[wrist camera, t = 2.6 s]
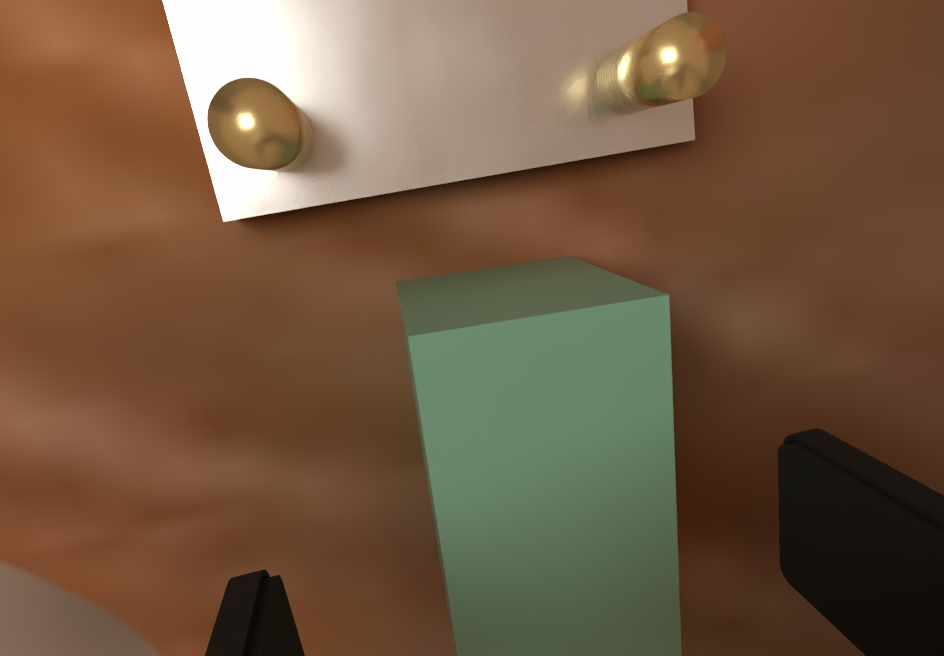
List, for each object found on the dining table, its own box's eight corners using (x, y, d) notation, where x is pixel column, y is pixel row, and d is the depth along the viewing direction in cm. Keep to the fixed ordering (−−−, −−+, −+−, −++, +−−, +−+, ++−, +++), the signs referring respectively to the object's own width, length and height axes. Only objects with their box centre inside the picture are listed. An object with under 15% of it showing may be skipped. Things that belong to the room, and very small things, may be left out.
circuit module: (590, 528, 19) (682, 675, 14) (439, 559, 19) (469, 728, 13) (569, 255, 17) (669, 294, 11) (395, 281, 16) (407, 336, 11)
